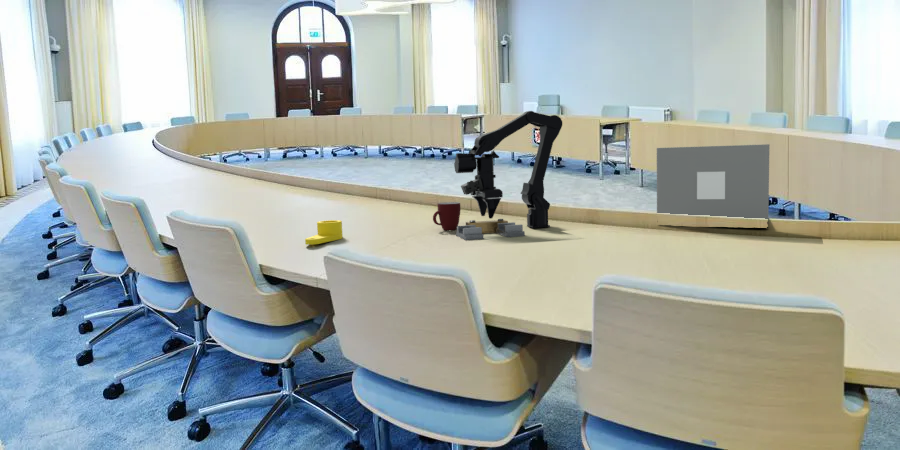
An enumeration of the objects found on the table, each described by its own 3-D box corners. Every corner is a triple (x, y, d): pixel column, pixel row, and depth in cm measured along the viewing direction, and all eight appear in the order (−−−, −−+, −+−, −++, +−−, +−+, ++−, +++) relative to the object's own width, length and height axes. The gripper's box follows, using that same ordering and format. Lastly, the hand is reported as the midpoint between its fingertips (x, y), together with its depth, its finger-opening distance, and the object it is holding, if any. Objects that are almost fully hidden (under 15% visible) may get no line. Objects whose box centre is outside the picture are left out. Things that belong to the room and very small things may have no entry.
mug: (442, 233, 239) (441, 205, 237) (428, 232, 245) (427, 204, 244) (465, 230, 245) (464, 202, 244) (451, 229, 251) (450, 201, 250)
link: (504, 231, 242) (504, 218, 242) (508, 232, 239) (507, 219, 238) (466, 233, 240) (465, 220, 239) (468, 234, 236) (468, 221, 235)
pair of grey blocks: (512, 231, 237) (512, 221, 237) (524, 236, 226) (524, 225, 225) (456, 235, 232) (455, 225, 232) (465, 240, 221) (465, 229, 220)
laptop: (768, 219, 247) (769, 143, 244) (768, 229, 223) (769, 144, 220) (666, 218, 261) (666, 146, 258) (656, 227, 238) (656, 147, 235)
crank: (325, 237, 244) (325, 220, 244) (346, 237, 241) (346, 220, 241) (298, 244, 227) (296, 226, 227) (320, 244, 225) (319, 226, 224)
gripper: (455, 172, 244) (457, 216, 246) (470, 173, 226) (471, 221, 228) (486, 170, 247) (487, 214, 248) (502, 172, 229) (503, 219, 230)
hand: (486, 217), depth 239 cm, fingers open, 9 cm apart
